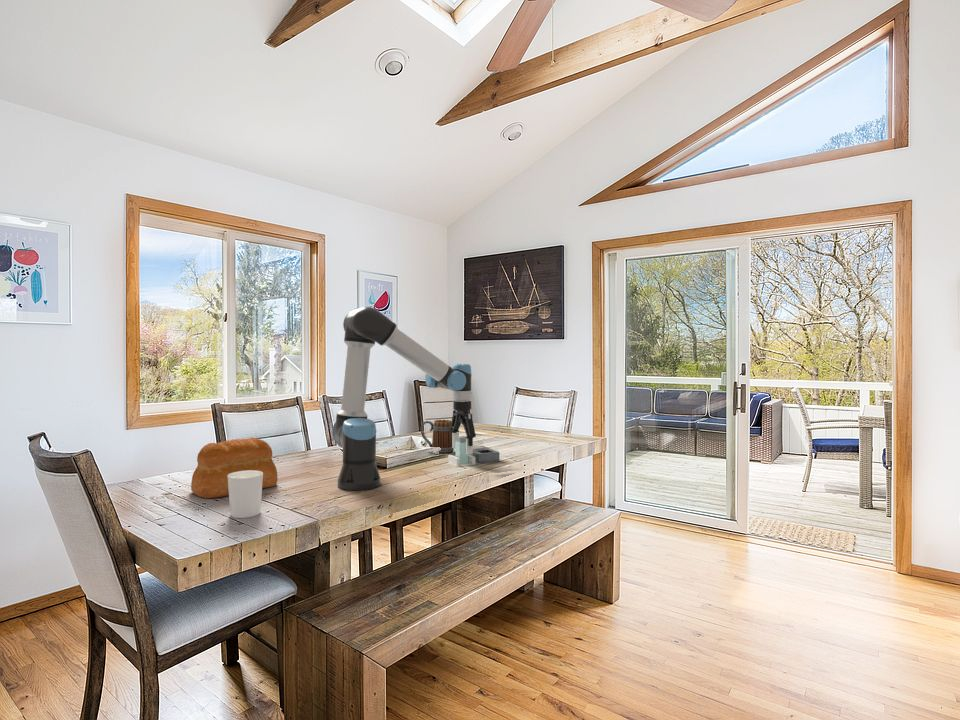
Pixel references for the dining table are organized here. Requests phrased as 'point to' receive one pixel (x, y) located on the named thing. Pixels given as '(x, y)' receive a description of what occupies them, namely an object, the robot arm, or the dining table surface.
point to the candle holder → (245, 493)
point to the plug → (461, 450)
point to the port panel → (485, 455)
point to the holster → (456, 460)
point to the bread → (231, 465)
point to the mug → (440, 435)
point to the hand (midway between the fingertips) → (462, 450)
